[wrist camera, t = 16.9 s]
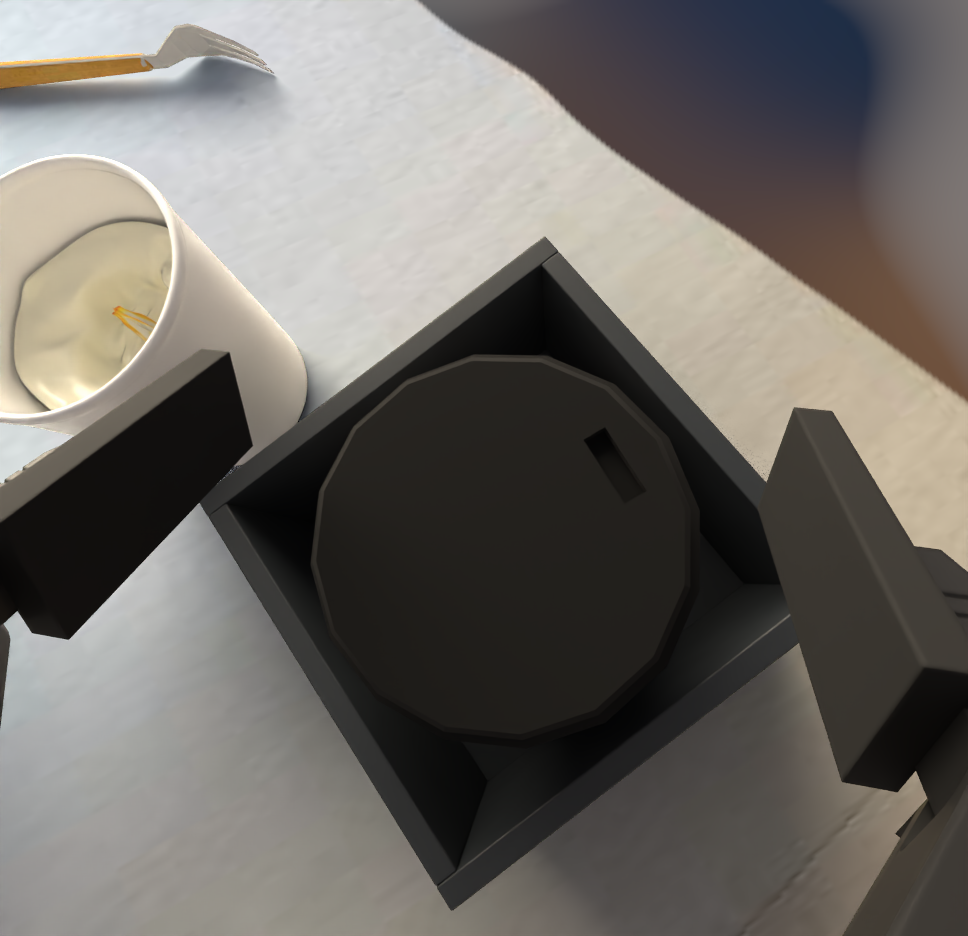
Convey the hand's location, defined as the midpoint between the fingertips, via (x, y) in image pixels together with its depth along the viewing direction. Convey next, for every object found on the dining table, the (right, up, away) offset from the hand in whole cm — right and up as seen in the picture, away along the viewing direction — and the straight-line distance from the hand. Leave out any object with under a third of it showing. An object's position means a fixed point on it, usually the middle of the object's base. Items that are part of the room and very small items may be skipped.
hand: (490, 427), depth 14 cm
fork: (-23, +23, +23) cm, 40 cm away
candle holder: (-14, +3, +18) cm, 22 cm away
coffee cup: (+2, -5, +13) cm, 14 cm away
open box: (+2, -5, +14) cm, 15 cm away
